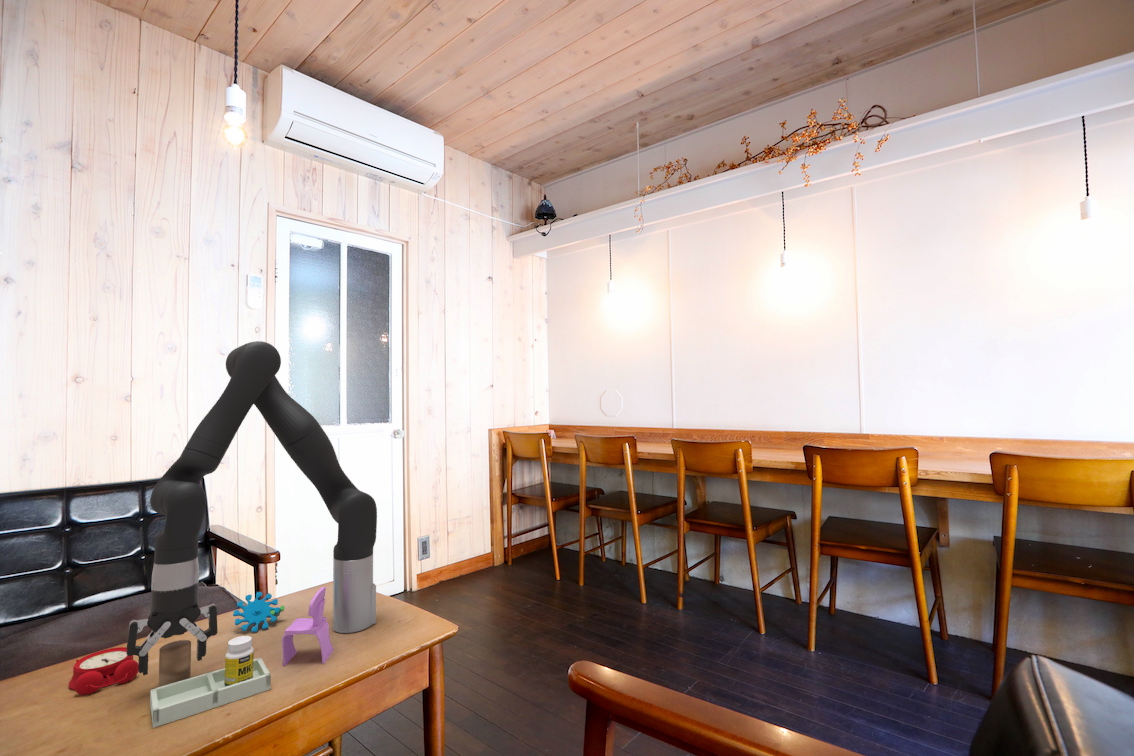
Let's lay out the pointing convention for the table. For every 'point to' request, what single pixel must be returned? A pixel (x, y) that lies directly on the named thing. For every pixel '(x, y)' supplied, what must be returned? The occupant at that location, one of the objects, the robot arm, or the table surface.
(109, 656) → the alarm clock
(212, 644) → the table surface
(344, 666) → the table surface
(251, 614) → the gear
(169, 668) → the walnut dowel
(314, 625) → the toy chair
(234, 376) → the robot arm
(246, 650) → the supplement bottle
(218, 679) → the slot rack
